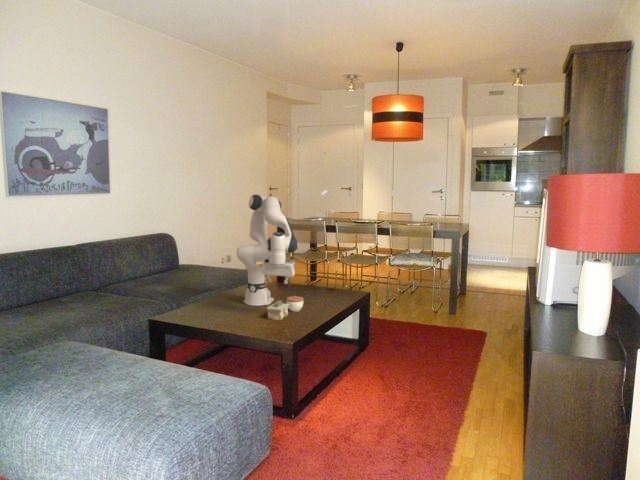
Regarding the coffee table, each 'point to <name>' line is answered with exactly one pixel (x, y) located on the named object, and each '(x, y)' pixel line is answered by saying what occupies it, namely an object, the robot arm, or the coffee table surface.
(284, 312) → the box
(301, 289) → the coffee table surface
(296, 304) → the lidded jar
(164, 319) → the coffee table surface
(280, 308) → the lid
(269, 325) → the coffee table surface
